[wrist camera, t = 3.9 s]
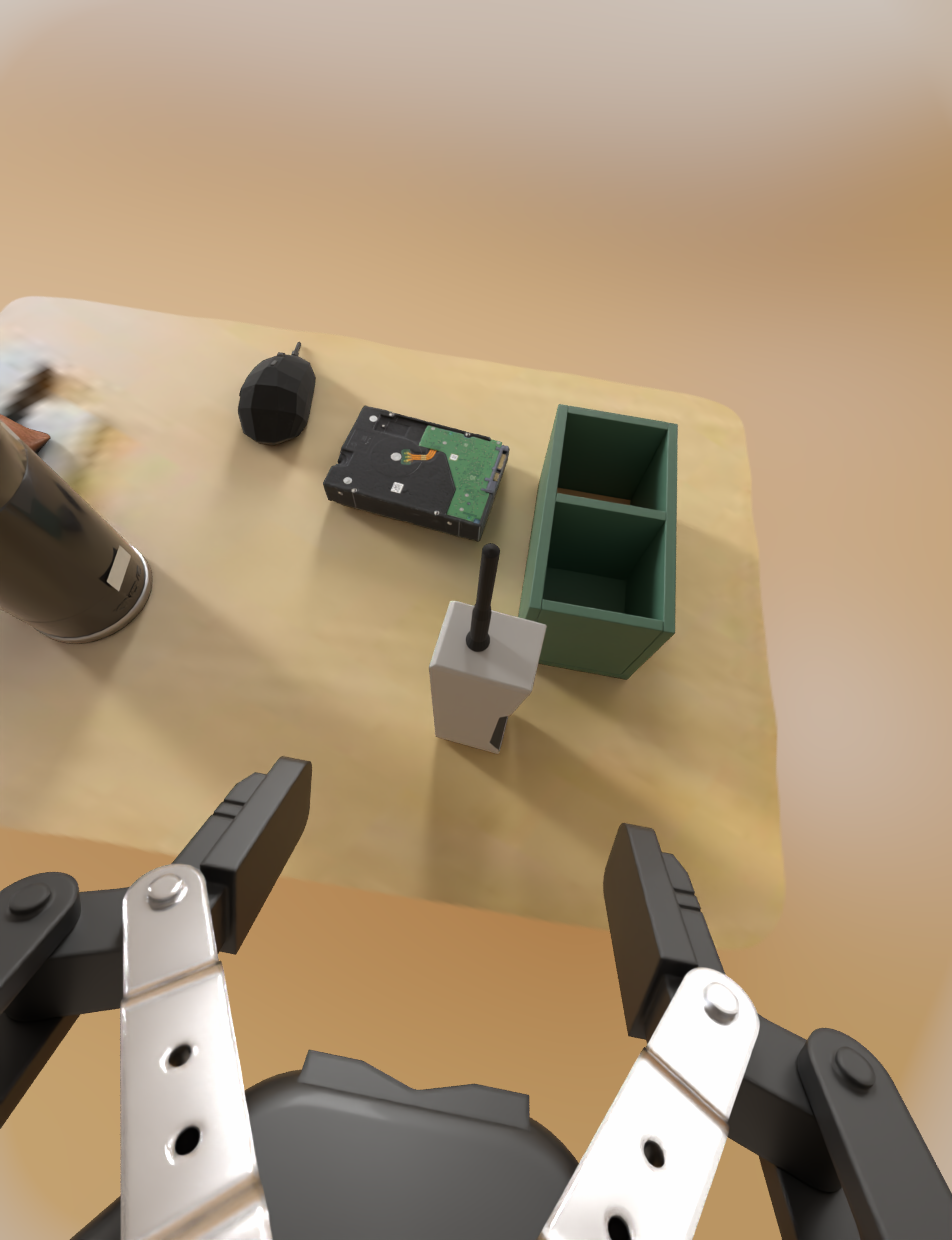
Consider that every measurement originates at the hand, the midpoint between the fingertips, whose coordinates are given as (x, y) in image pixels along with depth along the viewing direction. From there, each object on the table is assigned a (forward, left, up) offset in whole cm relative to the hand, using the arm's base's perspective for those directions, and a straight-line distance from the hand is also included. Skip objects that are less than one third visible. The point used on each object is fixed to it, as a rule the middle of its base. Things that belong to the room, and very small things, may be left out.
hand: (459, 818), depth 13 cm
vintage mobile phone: (0, +9, -26) cm, 27 cm away
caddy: (+7, +24, -26) cm, 36 cm away
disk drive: (-9, +31, -26) cm, 41 cm away
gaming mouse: (-25, +39, -26) cm, 53 cm away
